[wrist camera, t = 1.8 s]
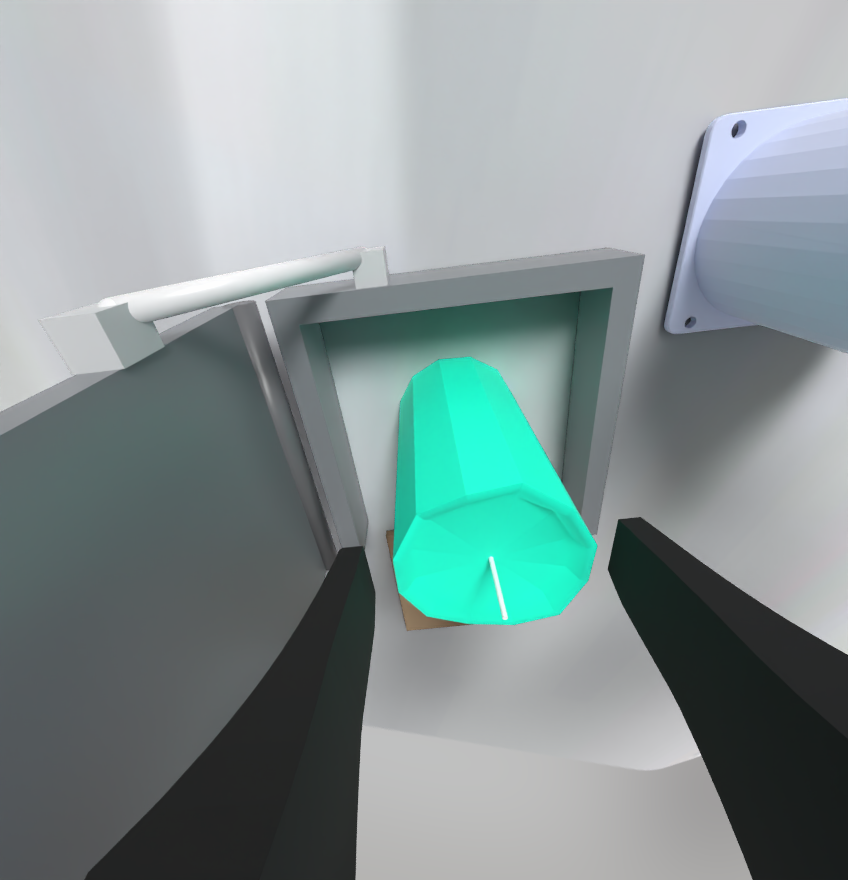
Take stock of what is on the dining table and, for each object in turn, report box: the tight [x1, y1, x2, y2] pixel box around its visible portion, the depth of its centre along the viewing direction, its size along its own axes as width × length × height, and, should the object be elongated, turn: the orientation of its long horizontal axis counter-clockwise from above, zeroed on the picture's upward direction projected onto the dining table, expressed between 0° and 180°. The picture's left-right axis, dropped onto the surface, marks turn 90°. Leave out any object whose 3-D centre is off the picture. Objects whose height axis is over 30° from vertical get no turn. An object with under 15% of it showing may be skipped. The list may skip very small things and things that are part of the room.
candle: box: [393, 357, 597, 625], centre depth 15 cm, size 6×6×12 cm
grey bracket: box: [0, 246, 645, 880], centre depth 13 cm, size 16×15×17 cm
